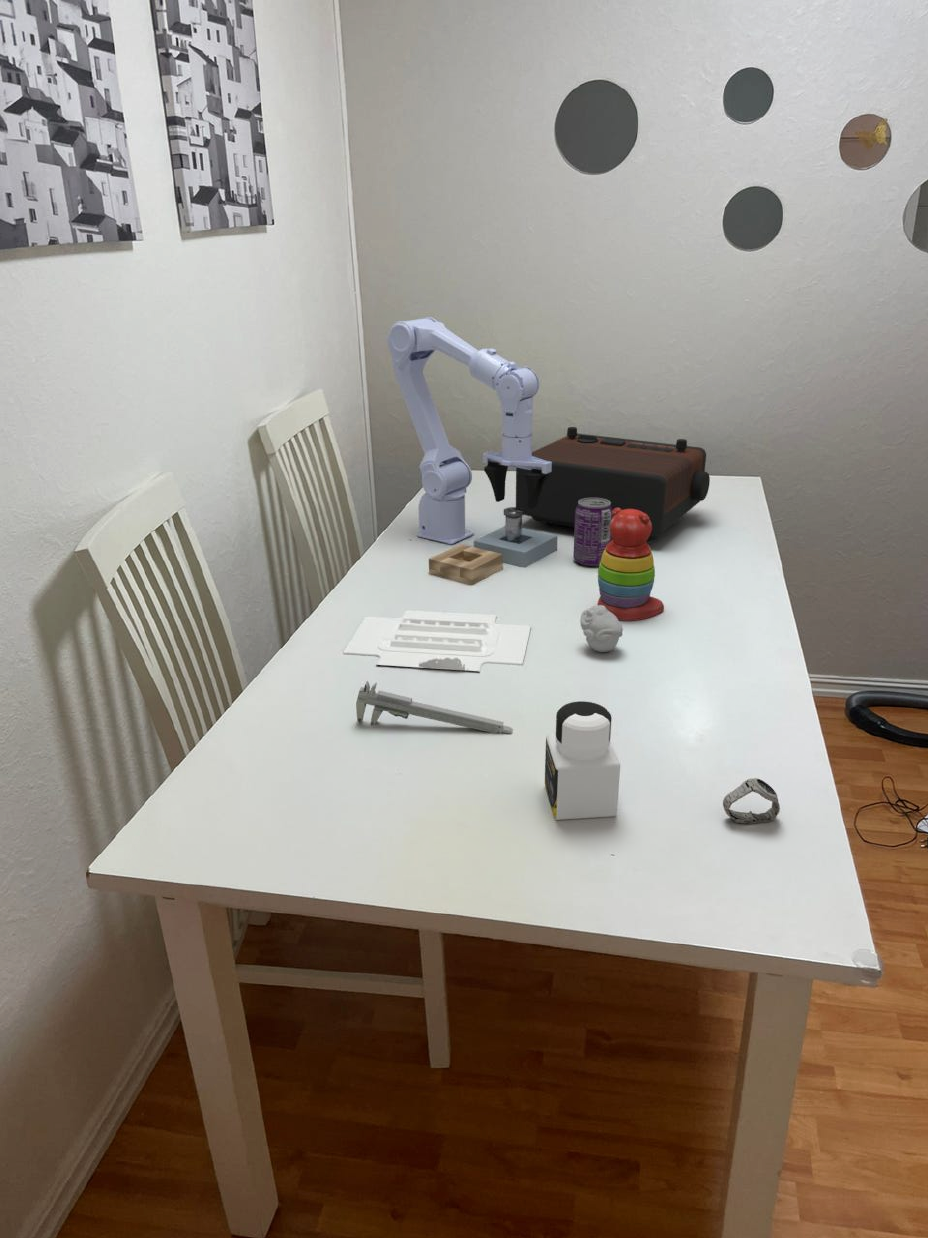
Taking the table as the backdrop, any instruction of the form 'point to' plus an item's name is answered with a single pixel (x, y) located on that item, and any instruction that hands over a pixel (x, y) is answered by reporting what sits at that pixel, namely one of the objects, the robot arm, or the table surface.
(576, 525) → the beverage can
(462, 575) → the mount
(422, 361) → the robot arm
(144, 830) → the table surface
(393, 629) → the tray
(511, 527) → the pin
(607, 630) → the frog figurine
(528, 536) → the dock
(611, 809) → the medicine bottle
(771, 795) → the wristwatch
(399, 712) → the caliper
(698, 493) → the radio receiver
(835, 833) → the table surface
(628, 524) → the stacking bear
